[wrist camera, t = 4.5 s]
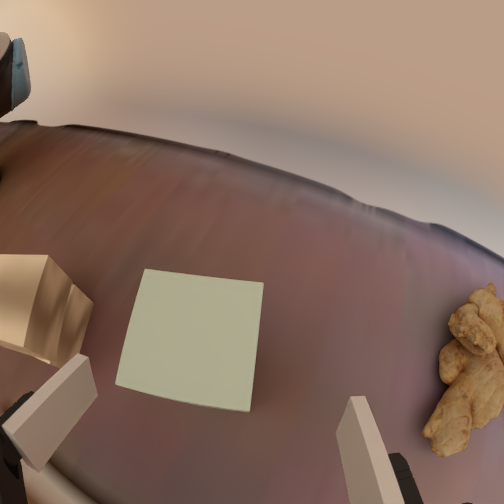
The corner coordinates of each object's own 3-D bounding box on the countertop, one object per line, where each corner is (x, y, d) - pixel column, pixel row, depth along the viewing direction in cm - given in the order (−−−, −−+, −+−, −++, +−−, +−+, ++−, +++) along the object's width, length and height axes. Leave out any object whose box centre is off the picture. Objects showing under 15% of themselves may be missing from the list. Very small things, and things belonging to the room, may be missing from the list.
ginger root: (506, 288, 23) (550, 268, 15) (498, 418, 18) (544, 424, 10) (407, 280, 24) (453, 253, 16) (392, 443, 19) (435, 470, 11)
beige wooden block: (45, 290, 23) (25, 271, 20) (95, 304, 23) (74, 284, 20) (26, 351, 20) (1, 338, 16) (75, 374, 19) (49, 364, 16)
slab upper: (20, 277, 20) (-4, 254, 16) (72, 281, 20) (48, 255, 16) (2, 346, 16) (-27, 330, 12) (55, 362, 16) (23, 347, 13)
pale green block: (192, 342, 21) (144, 268, 11) (254, 350, 21) (263, 282, 11) (182, 402, 19) (115, 384, 9) (247, 412, 19) (249, 411, 8)
